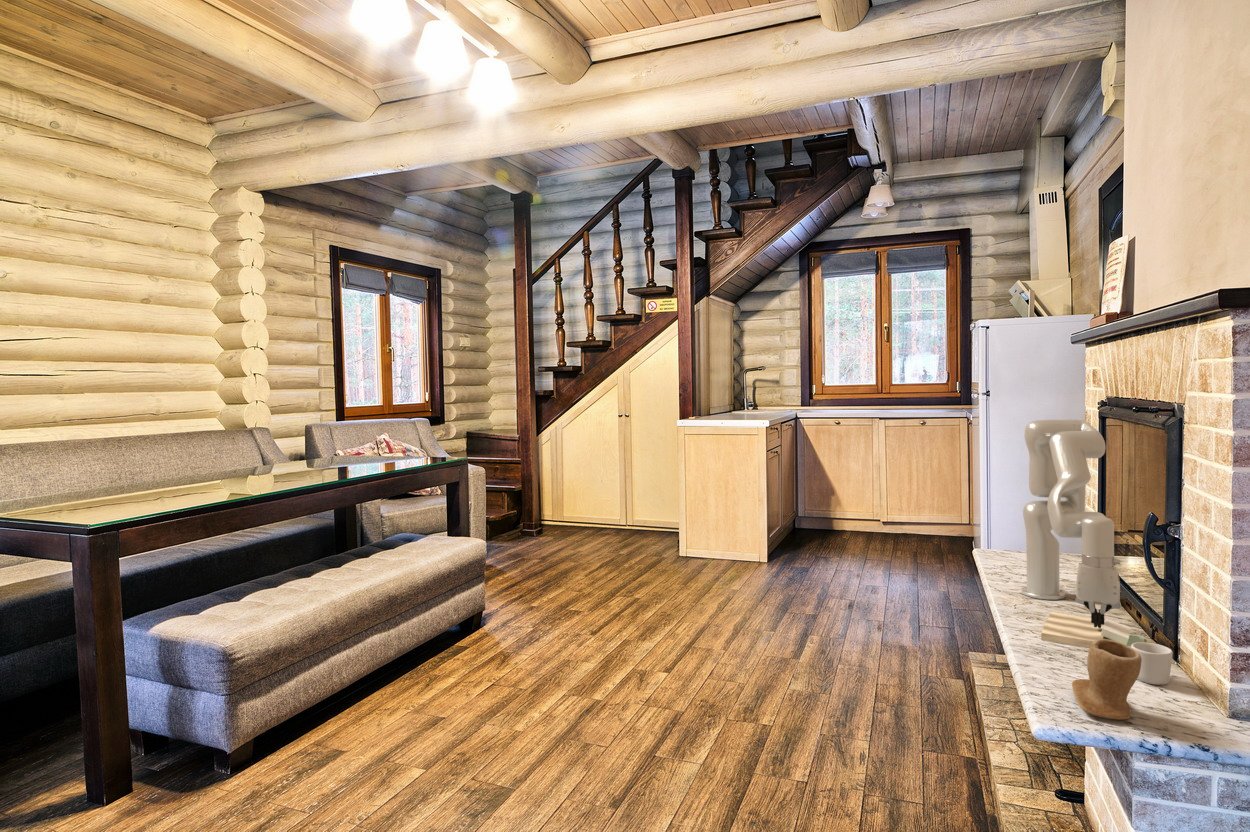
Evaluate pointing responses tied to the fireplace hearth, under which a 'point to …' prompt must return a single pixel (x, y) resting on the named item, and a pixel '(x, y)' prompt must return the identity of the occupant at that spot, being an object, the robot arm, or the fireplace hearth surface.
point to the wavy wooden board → (1071, 630)
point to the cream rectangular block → (1116, 631)
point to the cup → (1154, 662)
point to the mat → (1132, 639)
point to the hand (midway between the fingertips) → (1097, 626)
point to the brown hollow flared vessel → (1108, 679)
